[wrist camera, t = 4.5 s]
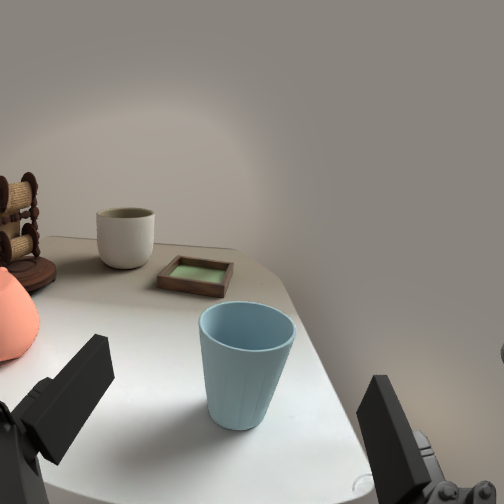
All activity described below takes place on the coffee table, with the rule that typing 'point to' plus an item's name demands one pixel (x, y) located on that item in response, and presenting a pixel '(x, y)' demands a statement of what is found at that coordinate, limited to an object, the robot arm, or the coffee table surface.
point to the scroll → (22, 234)
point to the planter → (125, 236)
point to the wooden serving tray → (196, 276)
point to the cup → (243, 359)
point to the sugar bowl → (15, 317)
